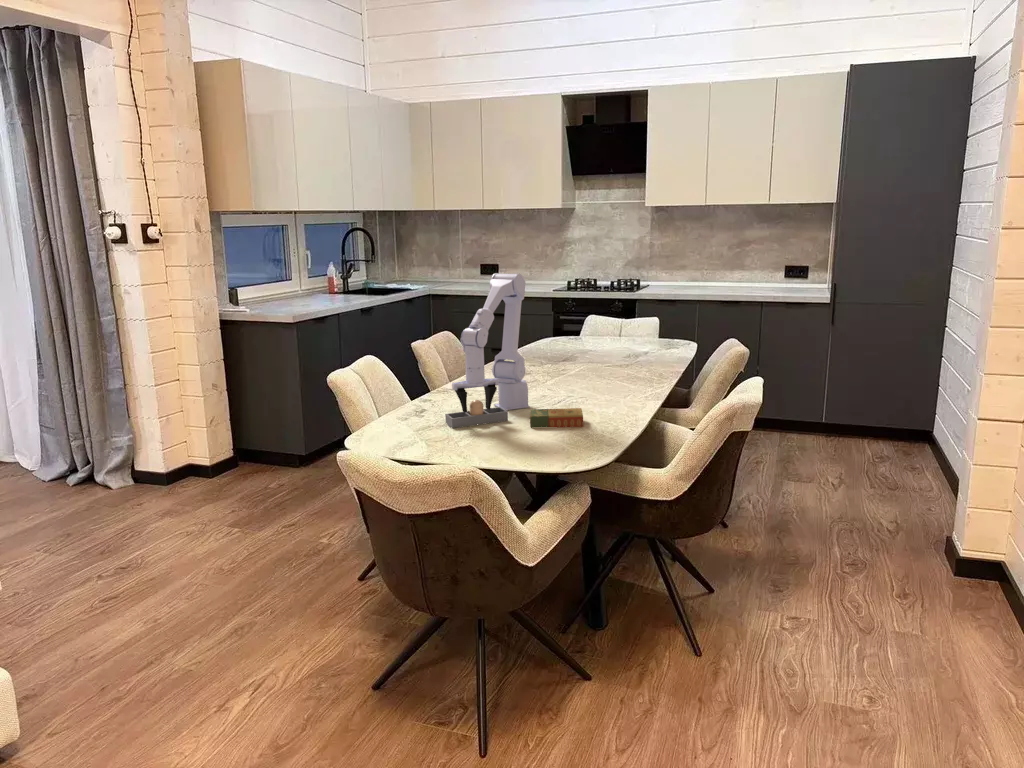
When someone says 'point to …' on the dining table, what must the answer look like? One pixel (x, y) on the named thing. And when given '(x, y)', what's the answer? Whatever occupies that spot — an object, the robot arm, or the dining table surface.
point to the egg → (476, 408)
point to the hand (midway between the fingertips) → (476, 410)
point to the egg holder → (476, 417)
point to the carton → (556, 417)
